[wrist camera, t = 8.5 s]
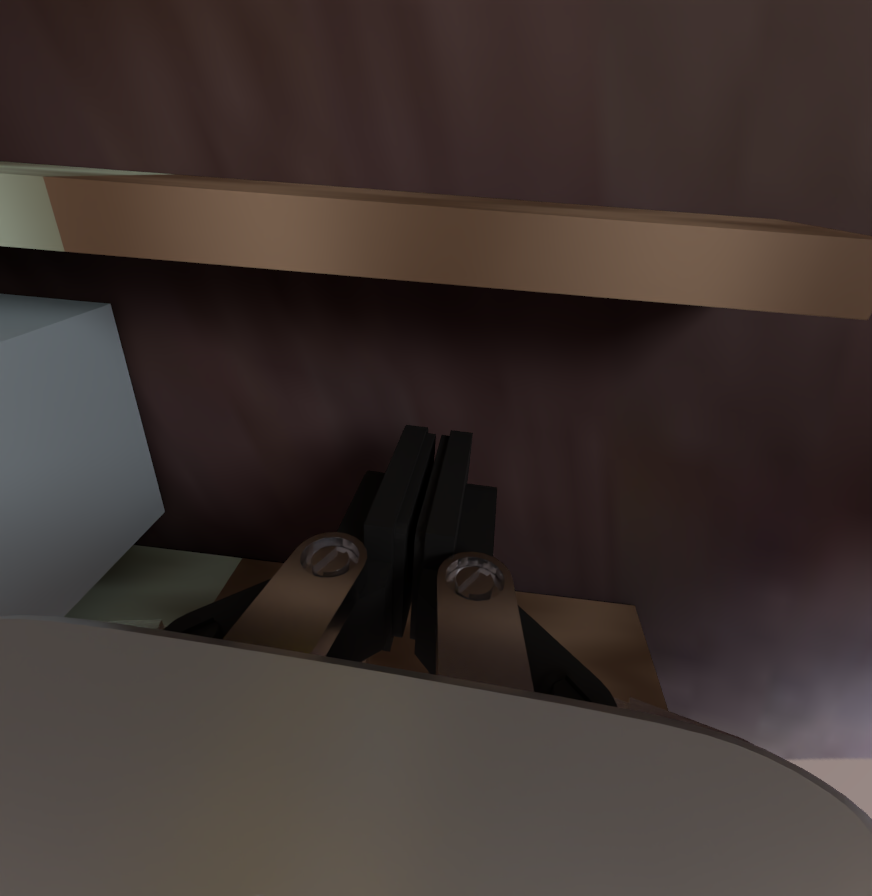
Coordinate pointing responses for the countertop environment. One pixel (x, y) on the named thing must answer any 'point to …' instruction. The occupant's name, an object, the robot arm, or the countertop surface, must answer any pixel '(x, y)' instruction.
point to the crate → (66, 454)
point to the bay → (433, 261)
